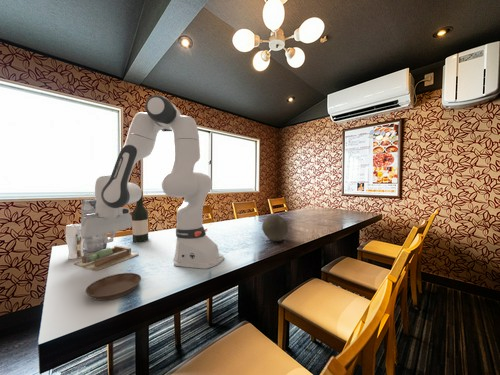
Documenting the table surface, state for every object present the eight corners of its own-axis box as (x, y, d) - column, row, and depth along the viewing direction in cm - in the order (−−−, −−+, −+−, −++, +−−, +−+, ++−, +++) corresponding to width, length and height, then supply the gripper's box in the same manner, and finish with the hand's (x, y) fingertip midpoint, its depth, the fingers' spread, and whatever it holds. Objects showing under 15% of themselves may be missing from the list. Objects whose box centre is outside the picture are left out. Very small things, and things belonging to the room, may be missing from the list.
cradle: (138, 255, 95) (138, 247, 95) (96, 270, 79) (96, 261, 79) (117, 250, 102) (116, 243, 102) (74, 264, 85) (74, 255, 85)
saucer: (134, 275, 75) (134, 268, 75) (147, 291, 64) (146, 283, 64) (83, 290, 65) (83, 282, 65) (88, 312, 54) (87, 302, 54)
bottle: (113, 248, 90) (90, 255, 82) (112, 258, 90) (90, 266, 82) (106, 246, 92) (84, 253, 84) (106, 256, 92) (84, 263, 84)
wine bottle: (151, 238, 123) (150, 189, 122) (142, 242, 115) (141, 190, 114) (138, 238, 124) (137, 189, 123) (129, 242, 116) (127, 190, 115)
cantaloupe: (272, 236, 125) (272, 212, 125) (292, 241, 116) (292, 215, 115) (257, 241, 115) (257, 215, 115) (277, 247, 106) (277, 218, 105)
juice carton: (87, 253, 98) (85, 198, 97) (81, 249, 104) (79, 197, 103) (109, 248, 105) (107, 197, 104) (101, 245, 111) (100, 196, 110)
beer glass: (89, 255, 96) (88, 224, 95) (72, 260, 89) (71, 227, 89) (80, 253, 98) (78, 223, 98) (62, 258, 92) (61, 226, 91)
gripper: (85, 215, 79) (86, 250, 80) (133, 209, 98) (134, 237, 98) (76, 214, 82) (77, 248, 82) (125, 208, 101) (126, 235, 101)
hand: (108, 242), depth 91 cm, fingers closed
